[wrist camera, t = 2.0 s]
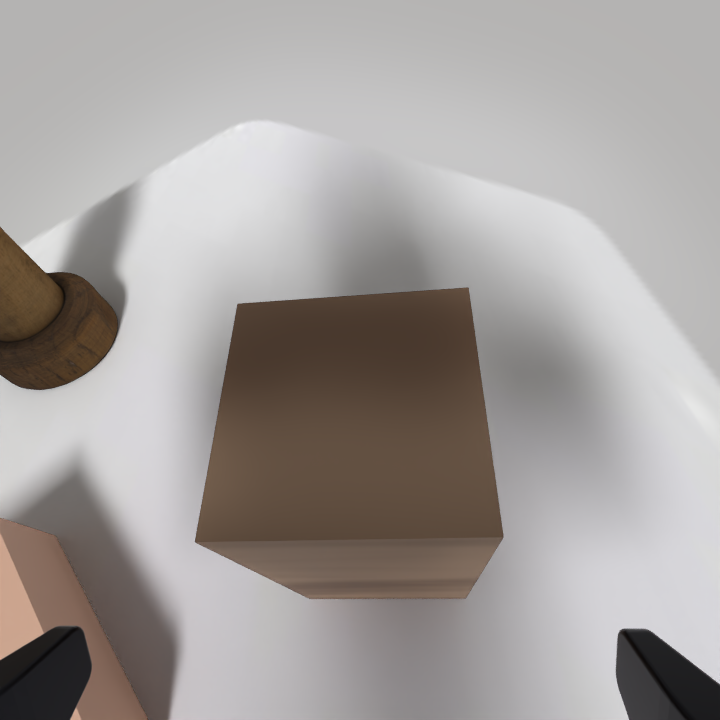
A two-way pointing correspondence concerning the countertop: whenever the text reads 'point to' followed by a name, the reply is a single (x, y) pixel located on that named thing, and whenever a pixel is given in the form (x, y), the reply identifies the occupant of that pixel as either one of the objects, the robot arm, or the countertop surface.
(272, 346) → the walnut block
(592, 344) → the countertop surface
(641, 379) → the countertop surface
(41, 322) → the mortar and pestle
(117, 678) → the terracotta block
